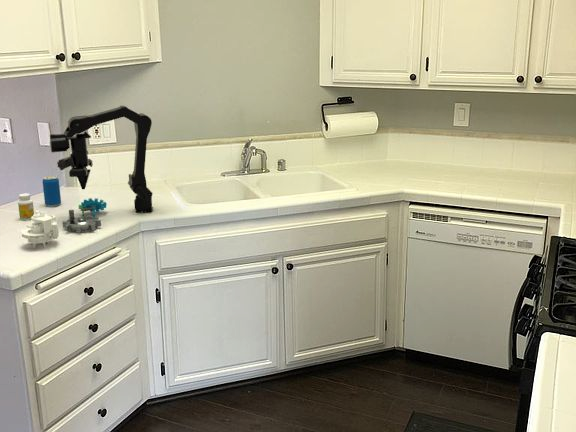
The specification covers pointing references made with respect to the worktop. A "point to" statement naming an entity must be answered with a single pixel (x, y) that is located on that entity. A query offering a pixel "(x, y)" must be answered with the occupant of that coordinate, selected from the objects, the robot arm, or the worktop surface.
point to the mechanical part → (41, 229)
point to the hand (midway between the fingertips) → (83, 189)
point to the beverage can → (51, 191)
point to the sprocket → (81, 223)
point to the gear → (92, 206)
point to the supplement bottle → (25, 207)
